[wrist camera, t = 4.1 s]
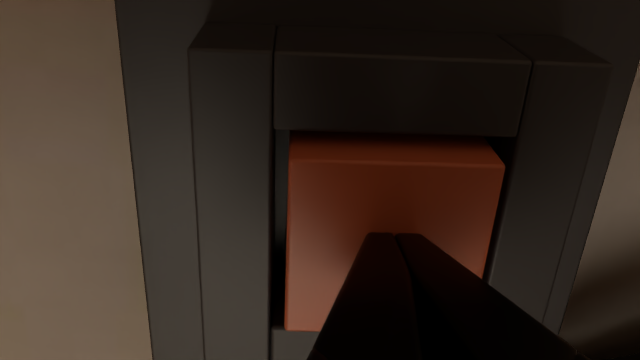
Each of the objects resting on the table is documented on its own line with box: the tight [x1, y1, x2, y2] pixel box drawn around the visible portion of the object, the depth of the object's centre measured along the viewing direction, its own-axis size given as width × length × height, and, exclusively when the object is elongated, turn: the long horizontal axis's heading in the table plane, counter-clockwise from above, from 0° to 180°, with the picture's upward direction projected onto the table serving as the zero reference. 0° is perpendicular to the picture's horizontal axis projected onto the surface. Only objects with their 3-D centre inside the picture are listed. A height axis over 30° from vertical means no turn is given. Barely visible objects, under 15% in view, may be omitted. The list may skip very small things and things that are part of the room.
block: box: [114, 0, 640, 360], centre depth 11 cm, size 9×9×4 cm
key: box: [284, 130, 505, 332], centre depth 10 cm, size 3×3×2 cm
